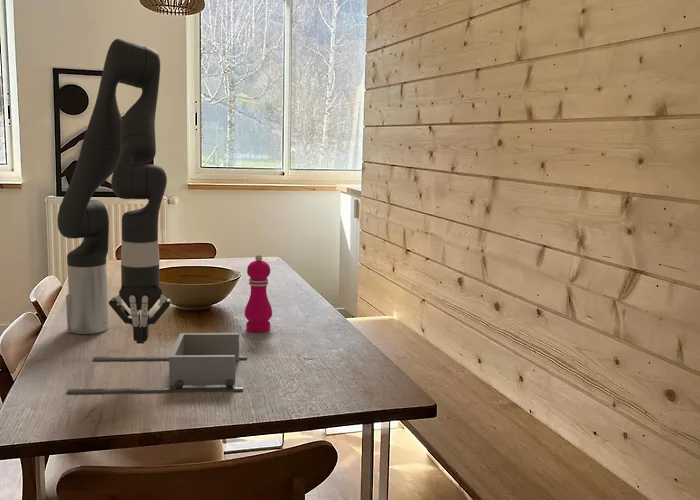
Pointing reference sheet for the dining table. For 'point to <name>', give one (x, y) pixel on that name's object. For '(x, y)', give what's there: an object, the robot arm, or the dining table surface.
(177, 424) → the dining table surface
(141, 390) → the track
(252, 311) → the pepper mill
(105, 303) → the robot arm
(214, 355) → the frame
